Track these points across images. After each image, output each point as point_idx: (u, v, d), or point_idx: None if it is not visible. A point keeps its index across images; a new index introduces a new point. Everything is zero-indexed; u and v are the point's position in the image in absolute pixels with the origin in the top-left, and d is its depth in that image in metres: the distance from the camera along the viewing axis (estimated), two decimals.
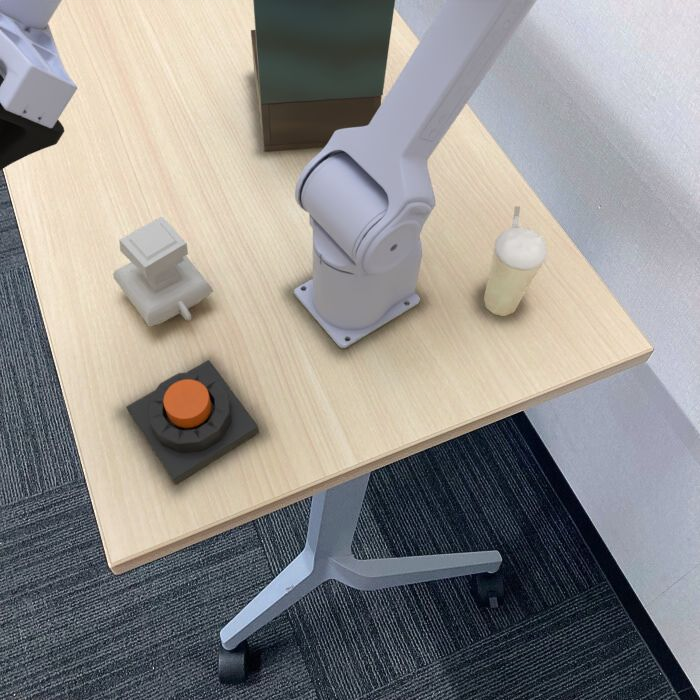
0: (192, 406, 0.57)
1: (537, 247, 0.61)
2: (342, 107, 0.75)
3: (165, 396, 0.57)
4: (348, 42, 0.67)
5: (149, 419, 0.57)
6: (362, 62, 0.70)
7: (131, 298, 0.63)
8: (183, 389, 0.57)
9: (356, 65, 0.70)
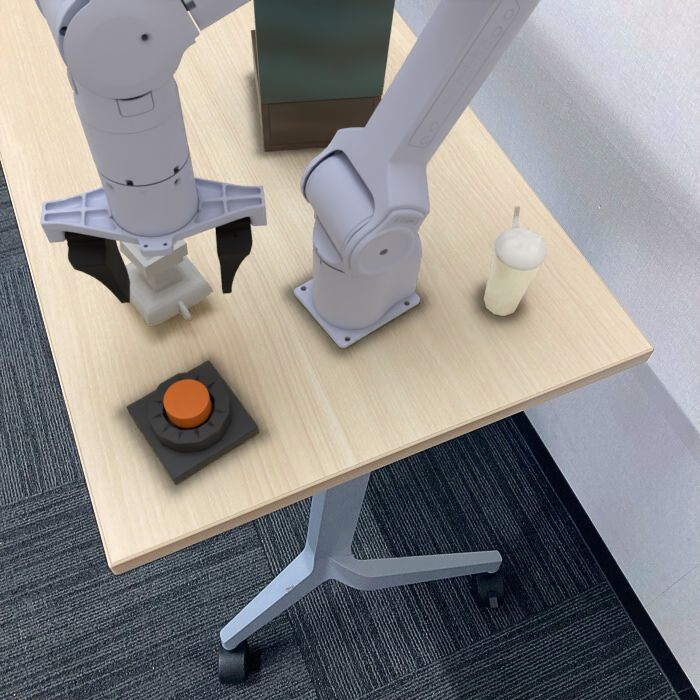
0: (192, 406, 0.57)
1: (537, 247, 0.61)
2: (342, 107, 0.75)
3: (165, 396, 0.57)
4: (348, 42, 0.67)
5: (149, 419, 0.57)
6: (362, 62, 0.70)
7: (131, 298, 0.63)
8: (183, 389, 0.57)
9: (356, 65, 0.70)
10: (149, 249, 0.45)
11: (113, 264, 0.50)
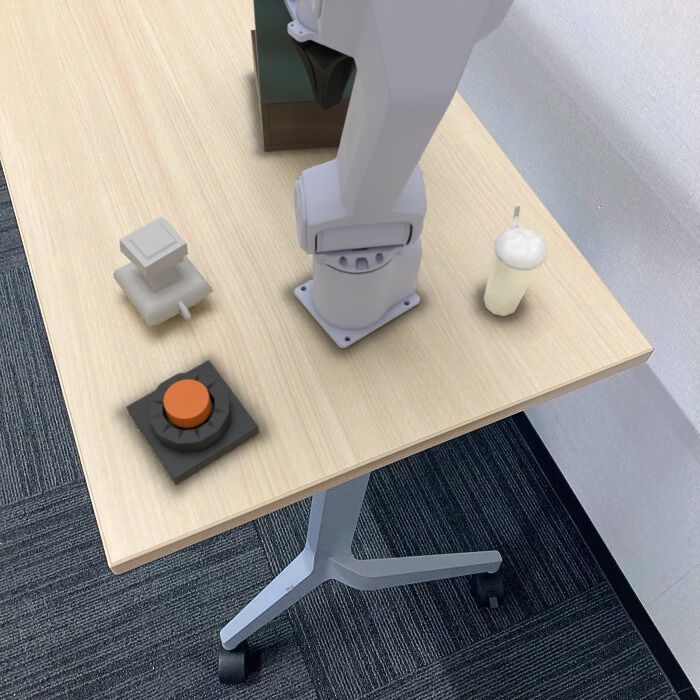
0: (192, 406, 0.57)
1: (537, 247, 0.61)
2: (342, 107, 0.75)
3: (165, 396, 0.57)
4: None
5: (149, 419, 0.57)
6: None
7: (131, 298, 0.63)
8: (183, 389, 0.57)
9: None
10: (290, 27, 0.59)
11: None
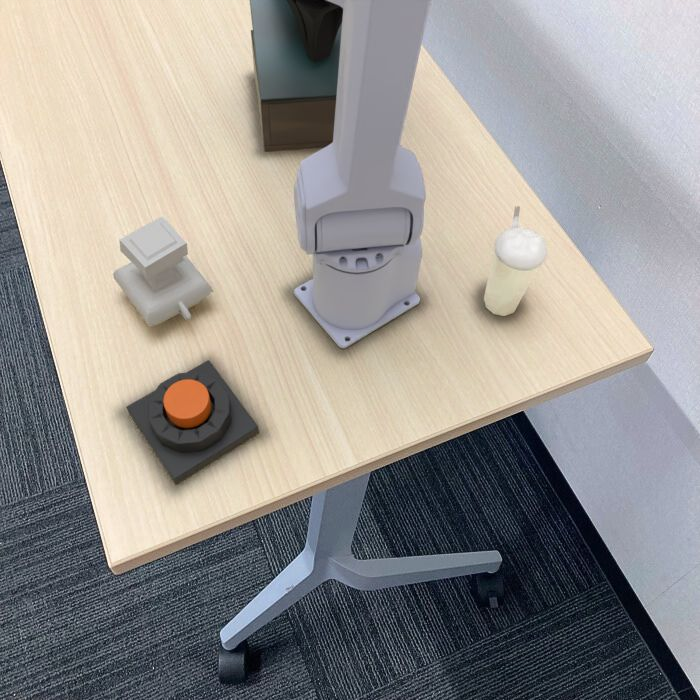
0: (192, 406, 0.57)
1: (537, 247, 0.61)
2: None
3: (165, 396, 0.57)
4: None
5: (149, 419, 0.57)
6: None
7: (131, 298, 0.63)
8: (183, 389, 0.57)
9: None
10: None
11: None
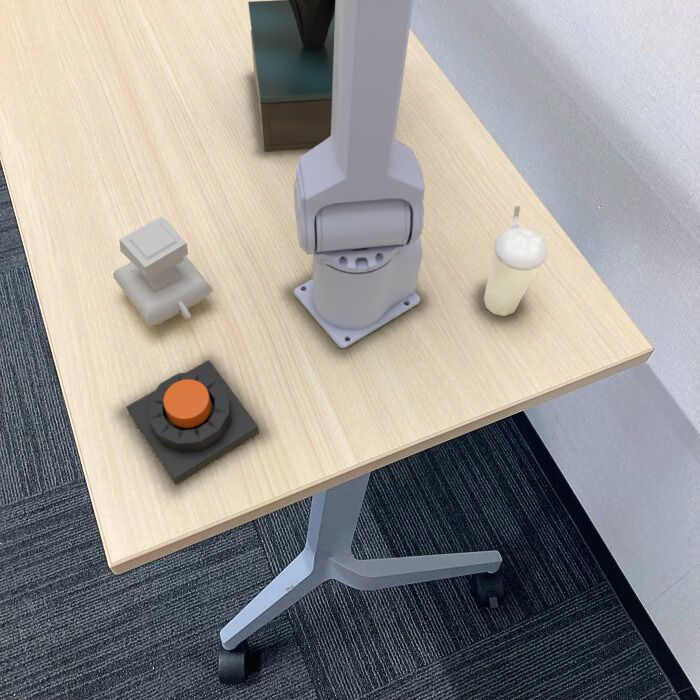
0: (192, 406, 0.57)
1: (537, 247, 0.61)
2: None
3: (165, 396, 0.57)
4: None
5: (149, 419, 0.57)
6: None
7: (131, 298, 0.63)
8: (183, 389, 0.57)
9: None
10: None
11: None
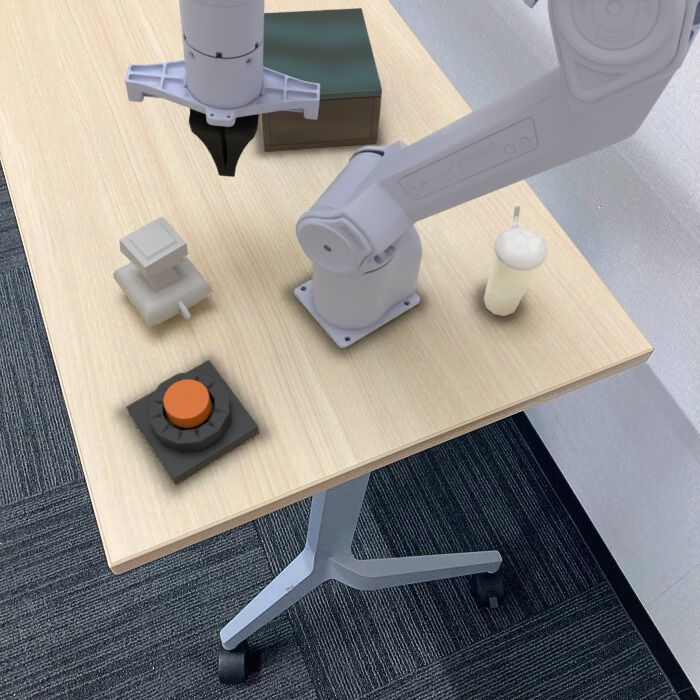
0: (192, 406, 0.57)
1: (537, 247, 0.61)
2: (342, 107, 0.75)
3: (165, 396, 0.57)
4: (334, 47, 0.77)
5: (149, 419, 0.57)
6: (352, 62, 0.76)
7: (131, 298, 0.63)
8: (183, 389, 0.57)
9: (347, 64, 0.75)
10: (214, 118, 0.52)
11: (222, 136, 0.58)
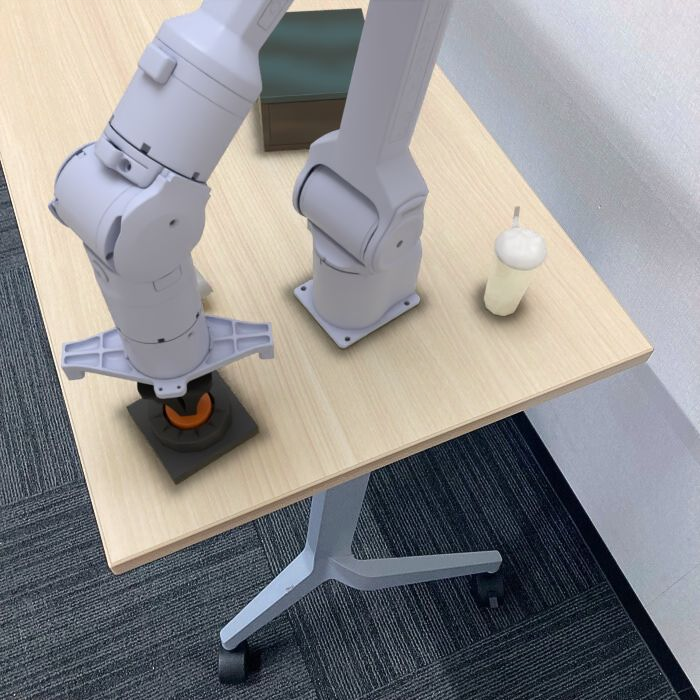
0: None
1: (537, 247, 0.61)
2: (342, 107, 0.75)
3: None
4: (334, 47, 0.77)
5: (149, 419, 0.57)
6: (352, 62, 0.76)
7: None
8: None
9: (347, 64, 0.75)
10: (164, 392, 0.48)
11: None
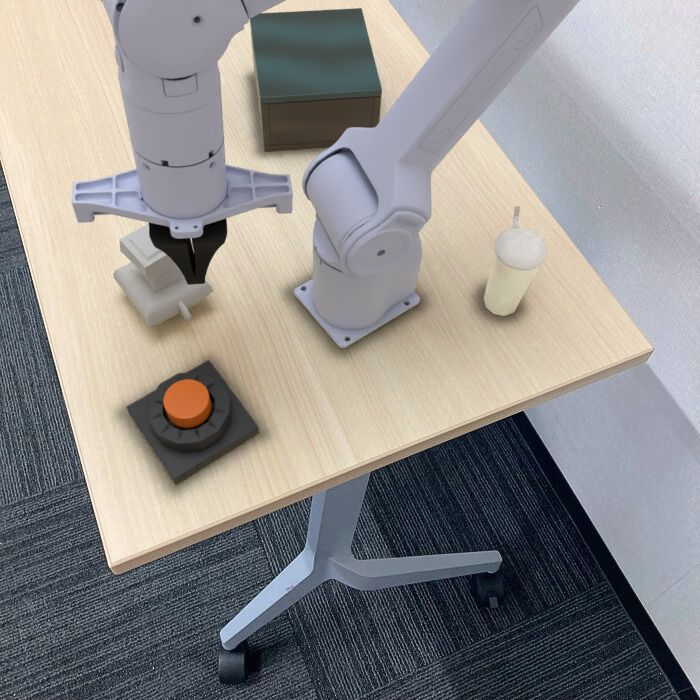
0: (192, 406, 0.57)
1: (537, 247, 0.61)
2: (342, 107, 0.75)
3: (165, 396, 0.57)
4: (334, 47, 0.77)
5: (149, 419, 0.57)
6: (352, 62, 0.76)
7: (131, 298, 0.63)
8: (183, 389, 0.57)
9: (347, 64, 0.75)
10: (180, 231, 0.46)
11: (188, 244, 0.52)
